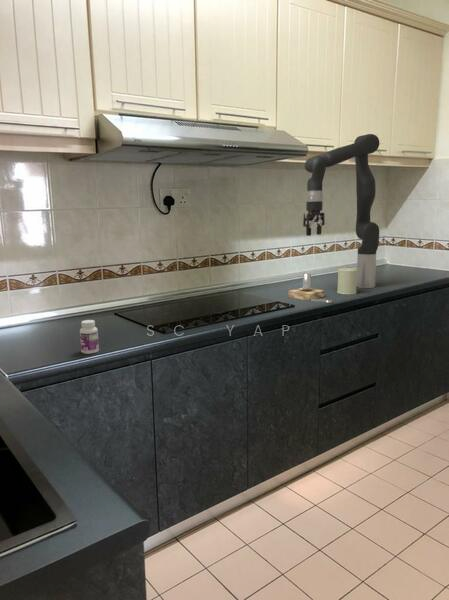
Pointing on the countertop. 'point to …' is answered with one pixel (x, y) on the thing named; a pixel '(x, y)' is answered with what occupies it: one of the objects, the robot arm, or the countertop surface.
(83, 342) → the pill bottle
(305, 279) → the pin
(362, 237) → the robot arm
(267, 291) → the countertop surface
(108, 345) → the countertop surface
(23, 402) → the countertop surface
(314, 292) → the socket block
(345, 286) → the can
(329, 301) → the bar
